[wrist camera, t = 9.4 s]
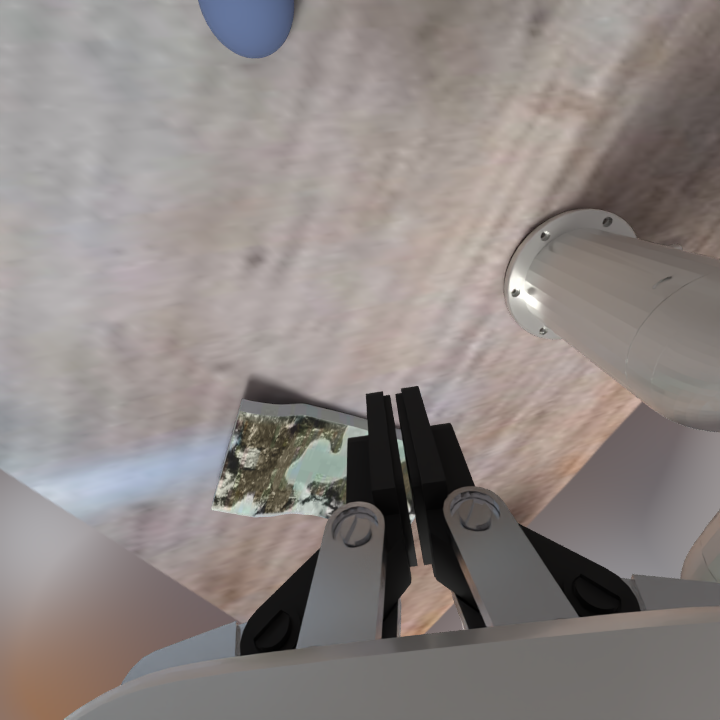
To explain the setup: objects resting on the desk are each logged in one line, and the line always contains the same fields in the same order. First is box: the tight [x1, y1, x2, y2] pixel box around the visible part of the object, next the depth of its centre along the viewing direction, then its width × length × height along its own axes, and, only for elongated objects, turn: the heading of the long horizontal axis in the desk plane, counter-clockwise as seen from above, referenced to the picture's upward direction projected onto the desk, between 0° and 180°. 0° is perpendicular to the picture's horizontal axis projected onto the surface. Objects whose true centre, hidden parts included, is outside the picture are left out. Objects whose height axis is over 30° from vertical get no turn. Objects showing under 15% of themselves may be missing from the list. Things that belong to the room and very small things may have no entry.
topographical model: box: [211, 399, 415, 523], centre depth 45 cm, size 26×15×5 cm, turn 69°
